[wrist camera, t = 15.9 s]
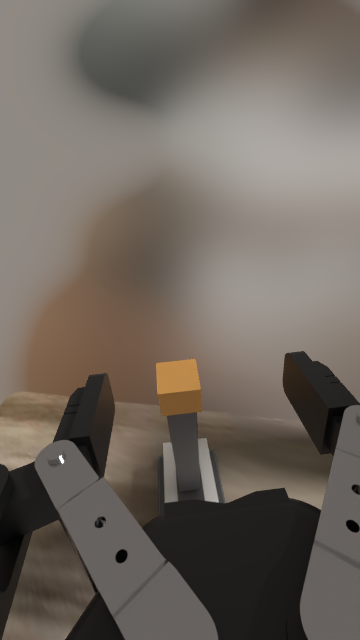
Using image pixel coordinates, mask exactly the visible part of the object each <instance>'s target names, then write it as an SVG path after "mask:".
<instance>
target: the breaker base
mask: <svg viewBox="0 0 360 640" xmlns="http://www.w3.org/2000/svg"><path fill="white" fill-rule="evenodd" d="M198 449H199V469H200V488H201V489H199V490H191V491H183V492H180V489H179V483H178V477H177V471H176V466H175V460H174V454H173V448H172V443H171V442H168V443H163V456H158V489H159V516H160V515H162V514H164V503H168V502H176V501H184V500H192V499H196V500H203V501H211V502H218V503H225V499H224V494H223V489H222V485H221V480H220V475H219V470H218V466H217V461H216V456H215V452H214V449H212V450H209V449H208V444H207V438H201V439H198Z"/></svg>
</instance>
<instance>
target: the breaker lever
mask: <svg viewBox="0 0 360 640" xmlns="http://www.w3.org/2000/svg"><path fill="white" fill-rule="evenodd" d="M156 368H157V369H156V370H157V392H158V399H159V404H160V409H161V414H162V416H167V420H168V425H169V431H170V437H171V443H172V448H173V454H174V460H175V466H176V471H177V477H178V483H179V489H180V492H183V491H191V490H199V489H201V488H200V469H199V449H198V429H197V412H202V411H201V388H200V382H199V376H198V371H197V365H196V359H189V360H181V361H172V362H164V363H156Z"/></svg>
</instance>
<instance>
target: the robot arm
mask: <svg viewBox="0 0 360 640" xmlns="http://www.w3.org/2000/svg"><path fill="white" fill-rule="evenodd" d="M283 372H284V373H283V387H284V391H285V394H286V396H287V397H288V399H289V401H290V403H291V404H292V406H293V408H294V410H295V411H296V413H297V414H298V416H299V418H300V420H301V422H302V423H303V425H304V427H305V429H306V430H307V432H308V434H309V435H310V437H311V439H312V441H313V442H314V444H315V446H316V447H317V449H318V451H319V453H320V454H328V453H332V455H333V462H332V466H331V470H330V475H329V479H328V483H327V488H326V492H325V496H324V501H323V505H322V509H321V510H320V509H318V508H316V507H314V506H312V505H310V504H308V503H305V502H303V501H300V500H296V499H291V498H288V495H287V493H286V490H285V488H280V489H272V490H264V491H256V492H253V493H251V494H248V495H246V496H243V497H241V498H239V499H236V500H234V501H231V502H229V503H218V502H211V501H203V500H196V499H192V500H184V501H176V502H168V503H164V514H162V515H160V516H158V517H156V518H154V519H153V520H151V521H150V522H149V523H147V524H146V525H145V526H144V527H143V528H141V526H140V525H139V524H138V522H137V521H136V520H135V518H134V517H133V516H132V514H131V513H130V512H129V510H128V509H127V508H126V506H125V505H124V503H123V502H122V501H121V499H120V498H119V497H118V495H117V494H116V493H115V491H114V490H113V489H112V487H111V486H110V485H109V483H108V482H107V481H106V479H105V478H104V473H105V467H106V461H107V455H108V449H109V443H110V437H111V432H112V426H113V420H114V414H115V404H114V398H113V394H112V390H111V386H110V382H109V378H108V375H107V374H106V373H104V374H95V375H89V377H88V380H87V383H86V386H85V387H82V388H78V389H77V390H76V391H75V392H74V393H73V394H72V395H71V396H70V398H69V401H68V404H67V407H66V409H65V411H64V415H63V417H62V419H61V422H60V425H59V427H58V430H57V433H56V435H55V438H54V440H53V443H51V444H49V445H48V446H46V447H45V448H44V449H43V450H42V451H41V452H40V453H39V454H38V456H37V457H36V460H35V461H34V462H32V463H30V464H28V465H25V466H23V467H20V468H17V469H15V470H12V471H8V469H7V467H6V466H4V465H2V464H0V640H1V639H2V636H3V632H4V629H5V625H6V622H7V619H8V615H9V612H10V608H11V605H12V601H13V598H14V594H15V591H16V587H17V584H18V580H19V577H20V573H21V570H22V566H23V563H24V559H25V556H26V552H27V549H28V545H29V542H30V538H31V535H32V531H34V530H36V529H39V528H41V527H43V526H45V525H47V524H50V523H52V522H54V521H56V520H59V522H60V524H61V526H62V528H63V530H64V532H65V533H66V535H67V537H68V539H69V541H70V543H71V545H72V547H73V549H74V551H75V553H76V555H77V557H78V559H79V561H80V563H81V565H82V568H83V570H84V572H85V574H86V576H87V578H88V580H89V582H90V584H91V586H92V588H93V590H94V592H95V596H94V597H93V599H92V600H91V602H90V603H89V605H88V606H87V608H86V609H85V611H84V612H83V614H82V615H81V617H80V618H79V620H78V621H77V623H76V624H75V626H74V627H73V629H72V630H71V632H70V633H69V635H68V636H67V638H66V639H65V640H360V403H359V402H358V401H357V400H356V399H355V398H354V396H353V395H352V394H351V393H350V392H349V391H348V390H347V388H346V387H345V386H344V385H343V384H342V383H340V380H339V379H338V378H337V377H335V375H334V374H333V373H332V371H331V370H330V369H329V368H328V367H327V366H325V365H323V364H321V363H320V362H318V361H312V360H311V359H310V358H309V357H308V355H307V354H306V353H305V352H304V351H301V352H292V353H286V354H285V360H284V371H283Z"/></svg>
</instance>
